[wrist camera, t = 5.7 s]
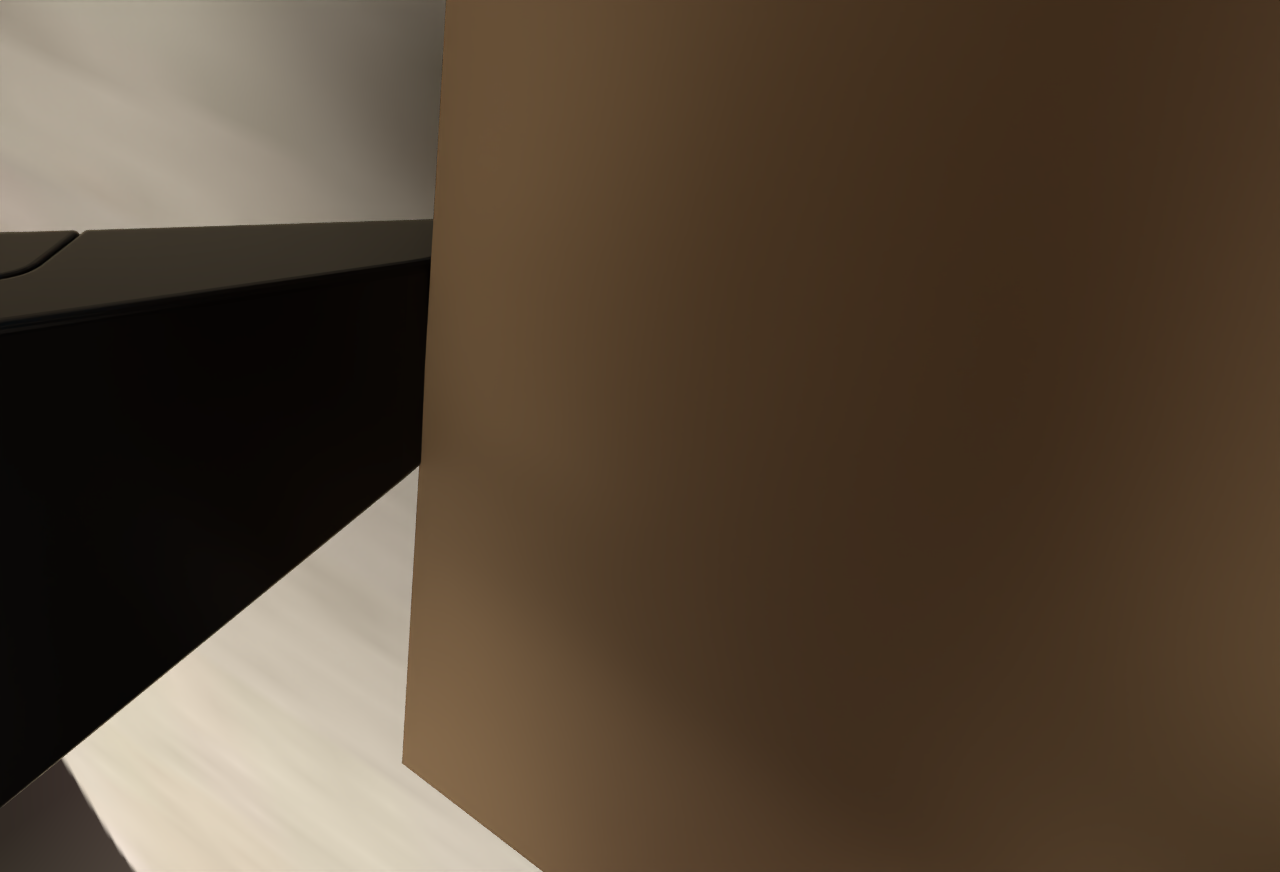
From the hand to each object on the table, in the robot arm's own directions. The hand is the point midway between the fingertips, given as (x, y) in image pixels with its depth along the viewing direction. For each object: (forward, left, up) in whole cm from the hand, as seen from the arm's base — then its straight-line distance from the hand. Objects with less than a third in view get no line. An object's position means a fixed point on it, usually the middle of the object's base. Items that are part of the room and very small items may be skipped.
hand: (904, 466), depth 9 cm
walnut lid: (0, 0, 0) cm, 1 cm away
